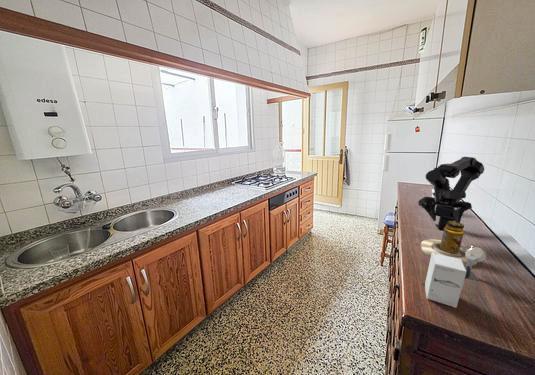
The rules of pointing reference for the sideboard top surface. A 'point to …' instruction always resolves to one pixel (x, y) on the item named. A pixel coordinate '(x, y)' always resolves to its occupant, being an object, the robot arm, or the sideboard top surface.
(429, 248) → the ring
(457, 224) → the condiment
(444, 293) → the supplement box
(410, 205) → the sideboard top surface
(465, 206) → the robot arm
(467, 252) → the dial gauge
